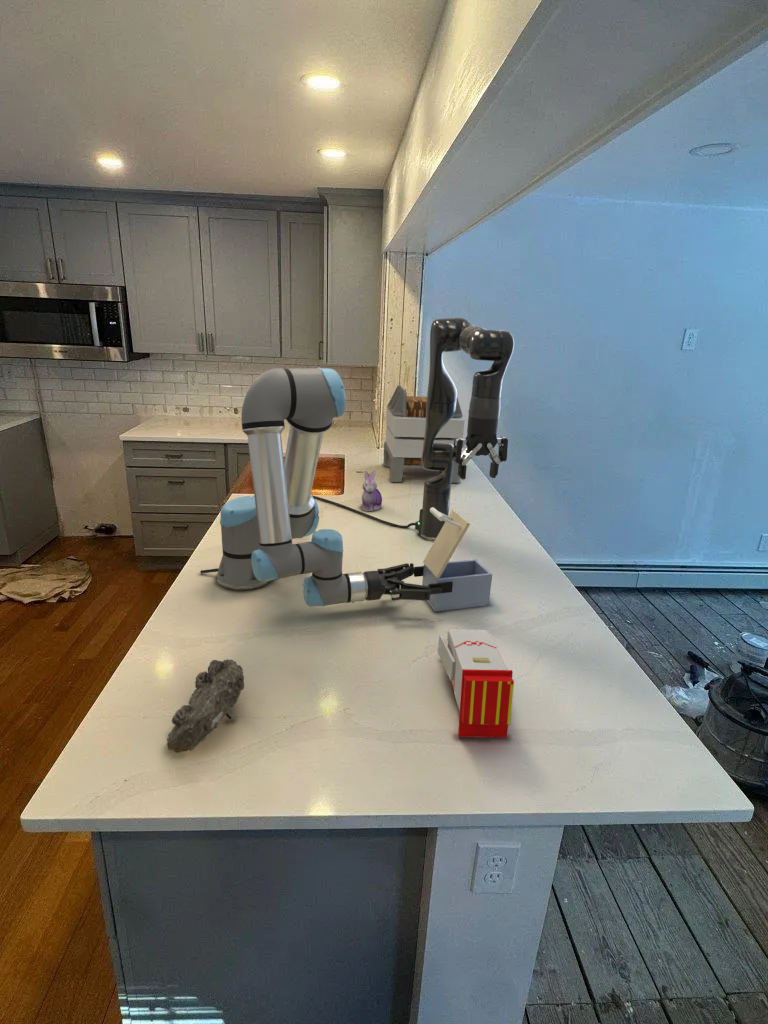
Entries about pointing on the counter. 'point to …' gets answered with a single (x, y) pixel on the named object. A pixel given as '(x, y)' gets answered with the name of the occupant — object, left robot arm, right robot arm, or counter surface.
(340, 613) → the counter surface
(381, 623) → the counter surface
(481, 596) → the chest
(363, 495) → the figurine
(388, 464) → the grey crate
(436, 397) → the right robot arm
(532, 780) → the counter surface
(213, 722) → the fossil
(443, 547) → the lid
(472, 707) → the toy
